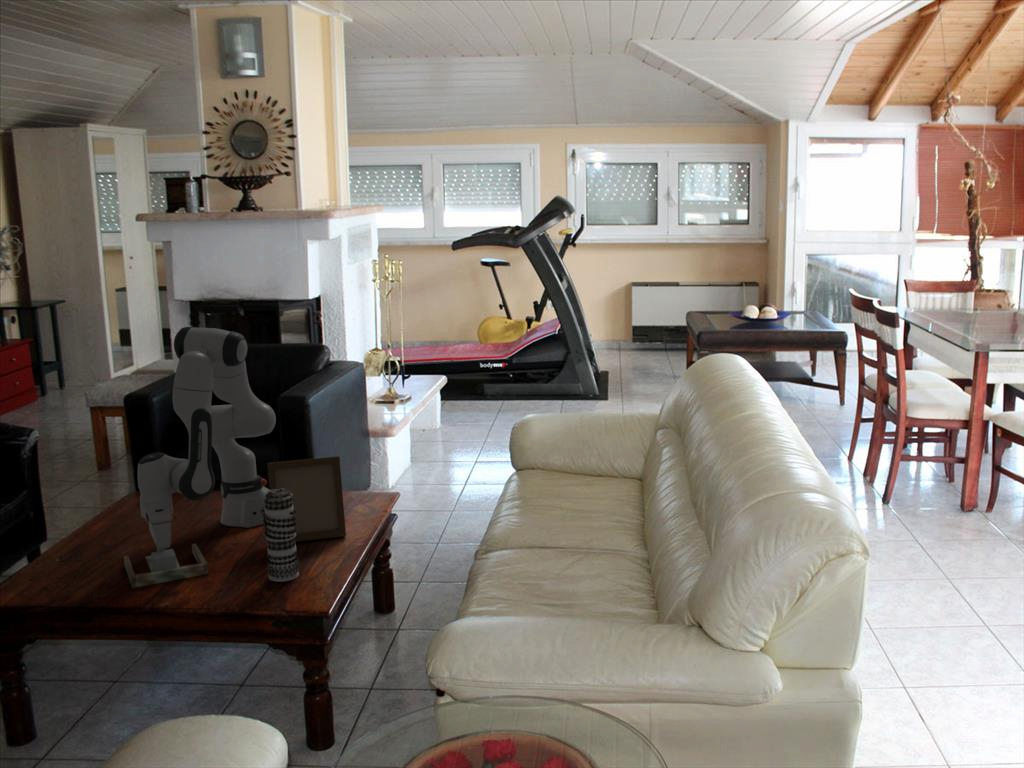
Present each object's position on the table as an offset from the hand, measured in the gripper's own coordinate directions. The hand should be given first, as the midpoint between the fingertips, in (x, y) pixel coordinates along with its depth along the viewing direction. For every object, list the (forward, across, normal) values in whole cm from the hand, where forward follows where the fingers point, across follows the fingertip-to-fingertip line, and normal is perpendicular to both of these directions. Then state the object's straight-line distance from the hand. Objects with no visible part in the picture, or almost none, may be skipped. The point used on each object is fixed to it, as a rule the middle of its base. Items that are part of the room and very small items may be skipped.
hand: (161, 553), depth 291 cm
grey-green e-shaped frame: (+3, +4, 0) cm, 5 cm away
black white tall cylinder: (+3, +28, +29) cm, 41 cm away
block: (+3, +4, 0) cm, 5 cm away
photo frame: (+3, -1, +44) cm, 44 cm away
